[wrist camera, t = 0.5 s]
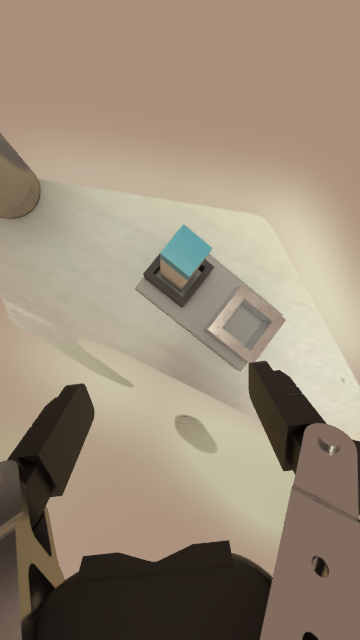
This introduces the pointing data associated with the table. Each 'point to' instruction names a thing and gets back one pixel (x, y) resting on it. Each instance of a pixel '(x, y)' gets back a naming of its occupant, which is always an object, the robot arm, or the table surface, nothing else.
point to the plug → (182, 257)
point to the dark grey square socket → (168, 291)
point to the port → (260, 335)
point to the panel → (208, 308)
